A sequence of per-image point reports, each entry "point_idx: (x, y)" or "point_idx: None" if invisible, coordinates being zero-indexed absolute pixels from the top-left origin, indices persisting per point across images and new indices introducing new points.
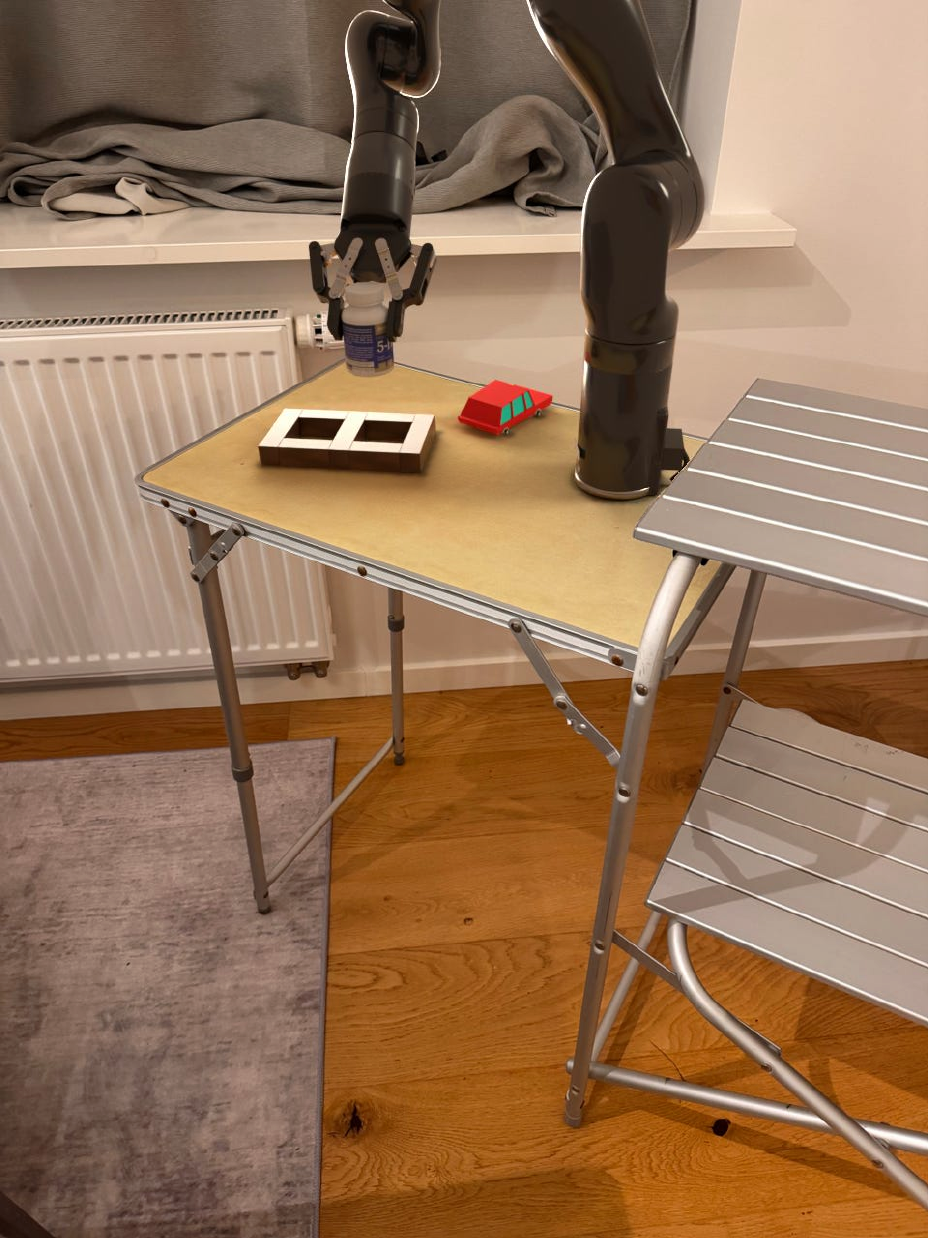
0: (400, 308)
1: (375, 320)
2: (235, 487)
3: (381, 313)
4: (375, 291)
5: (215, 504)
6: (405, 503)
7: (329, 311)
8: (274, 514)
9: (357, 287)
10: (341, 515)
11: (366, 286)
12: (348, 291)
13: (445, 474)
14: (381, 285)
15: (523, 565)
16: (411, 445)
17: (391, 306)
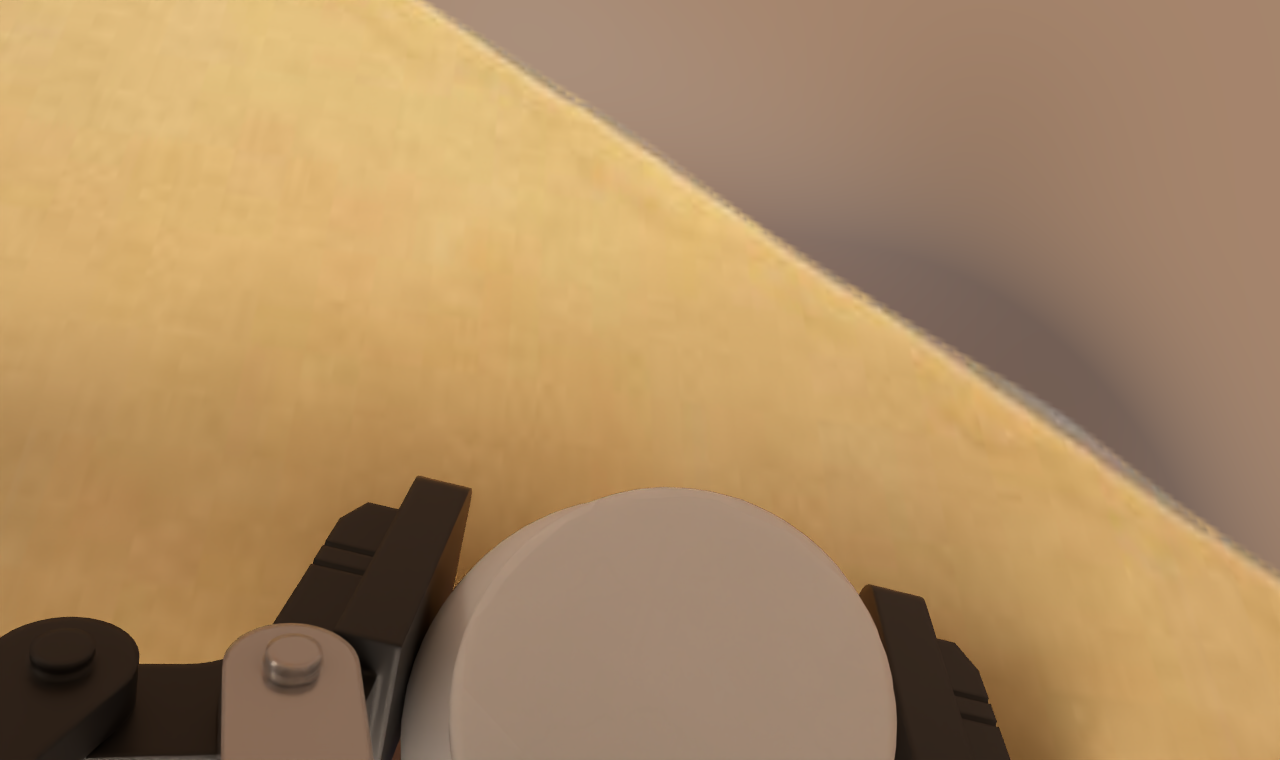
0: (296, 615)
1: (555, 512)
2: (1133, 637)
3: (495, 570)
4: (544, 527)
5: (1166, 510)
6: (464, 426)
7: (993, 749)
8: (939, 412)
9: (755, 713)
10: (701, 373)
11: (649, 736)
12: (845, 578)
13: None
14: (464, 741)
15: (130, 14)
16: (394, 755)
17: (386, 601)
